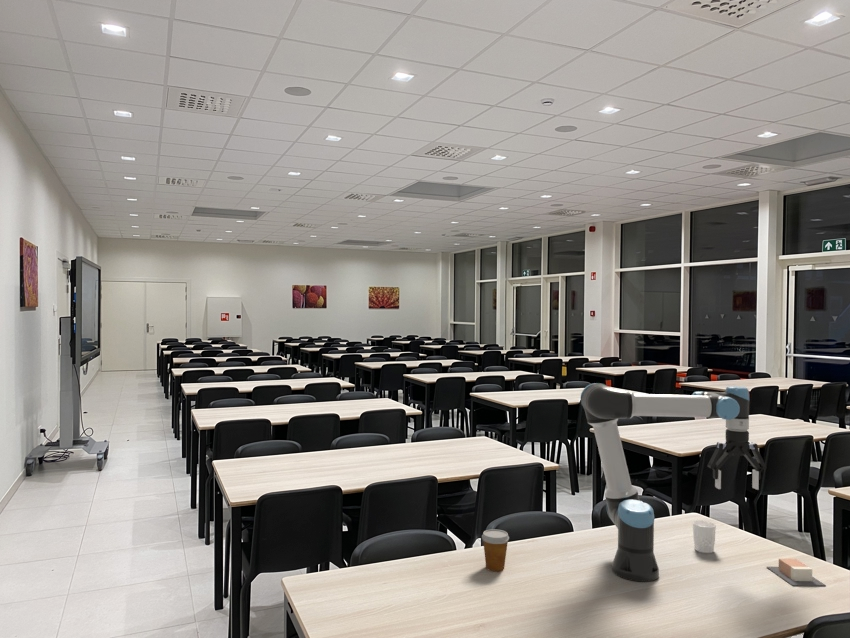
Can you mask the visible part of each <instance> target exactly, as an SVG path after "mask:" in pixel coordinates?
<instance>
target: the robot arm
mask: <svg viewBox="0 0 850 638" xmlns="http://www.w3.org/2000/svg"><path fill="white" fill-rule="evenodd" d="M580 405H581V406H582V408H583V409H584V412H585V417H586V422H587V424H588V425H590V426H592V429H593V432H594V436H595V441H596V445H597V447H598V448H597V450H598V453H599V457H600V461H601V466H602V470H603V474H604V478H605V483H606V487H607V490H606V492H605V493H604V497H605V501H606V507H605V508H606V512H607V516H608V518H609V519H610V521H611V522H612V523H613V524H614V526H615V527H616V528H617V550H616V553H615V555H614V558H613V561H612V564H611V565H612V566H611V567H612V571H613V573H614V574H615V575H616V576H618V577H620V578H623V579H626V580H629V581H634V582H635V581H636V582H652V581H655V580H657V579H658V578H659V577H660V576H659V575H660V572H659V571H660V569H659V566H658V562H657V559H656V556H655V553H654V552H655V551H654V545H655V543H654V542H655V541H654V539H655V538H654V537H655V536H654V535H655V528H654V527H655V514H654V513H655V512H654V509H653V507H652V506H651V505H650V504H649V503H647V502H643V501H642V500H640V496H639V492H638V489H637V488H636V487H634V486H633V485H632V482H631V476H630V473H629V468H628V465H627V460H626V455H625V452H624V449H623V443H622V439H621V435H620V430H619V428H618V422H619V419H622V420H624V419H627V420H628V419H629V420H630V419H632V418H633V417H671V418H672V417H675V418H676V417H677V418H678V417H679V418H681V417H682V418H710V419H711V418H712V419H713V418H714V419H715V418H716V419H722V420H725V428H726V429H725V442H724V443H723V442H720V441H718V442H716V446H715V449H714V451H713V454H712V455H711V457H710V459H709V461H708V463H707V464H706V465H707V468H709V469H711V470H712V478H713V479H714V487H715V488H716V489H718V490H721V489H722V470H720V469H721V468H722V467H723V465H724V464H726V462H727V461H728V459H730V458H731V457H732V456H733V457H737V456H740V457H743V456H744V458H745V459H746V460H747V461H748V462H749V463H750V465H751V466H752V467H753V469H752V476H751V477H752V481H751V482H752V483H751V485H752V486H751V487H752V489H755V490H757V491H759V490H760V489H759V485H760V484H759V480H761V479H762V474H761V473H762V472H763V470H767V465H766V463H765V462H764V459H763V457H762V454H761V453H760V451H759V448H758V447H759V445H758V443H755V442H751V443H749V441H750V431H749V429H750V392H749V389H748V388H747V387H744V386H735V385H734V386H726V388H725V391H720V392H719V391H694V392H693V393H692V394H691V395H690V394H660V393H659V394H655V393H654V394H652V393H650V394H648V393H633V392H632V391H631V390H621V389H616V388H612V387H611V386H608V385H606V384H605V383H600V382H596V383H595V382H594V383H590V384H588V385H586V386H585V388H583V390H582V391H581V393H580ZM724 449H725V450H724ZM749 449H750V450H751V452H752V454H753V456H754V458H753V457H752V456H751V454H750V452H749V451H748V450H749ZM723 450H724V452H723ZM722 453H723V454H722ZM756 461H757V462H756Z"/></svg>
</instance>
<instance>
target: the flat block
mask: <svg viewBox="0 0 850 638" xmlns="http://www.w3.org/2000/svg"><path fill="white" fill-rule="evenodd" d="M778 567H779V571H781V572H782V573H783V574H785V575H786V576H788V577H789V578H791V579H792V580H794V581H812V577H813V568H811V567H809V566H808V565H806V564H805V563H803V562H802V561H800V560H798V559H797V558H778Z"/></svg>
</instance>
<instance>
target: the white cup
mask: <svg viewBox="0 0 850 638" xmlns="http://www.w3.org/2000/svg"><path fill="white" fill-rule="evenodd" d="M716 527H717V525H716V524H715V523H713V522H712V521H707V520H694V521H693V522H692V529H693V530H692V531H693V542H694V543H693V544H694V548H693V549H694V550H695V551H697V552H699V553H703V554H713V553H714V551H715V542H716V529H717V528H716Z"/></svg>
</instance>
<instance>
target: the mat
mask: <svg viewBox="0 0 850 638" xmlns="http://www.w3.org/2000/svg"><path fill="white" fill-rule="evenodd" d="M766 569H768V570H769V571H771V572H772V573H773V574H775V575H776V576H777V577H779V578H780V579H782V580H783V581H784V582H785V583H788V584H789V585H790V586H792V587H826V586H827V585H826V584H825V583H823V582H822V581H820V580H818V579H817V578H815V577H814V576H812V581H794V580H792V579H791V578H789V577H788V576H786V575H785V574H783V573H782V572H781V571H779V566H766Z"/></svg>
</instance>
